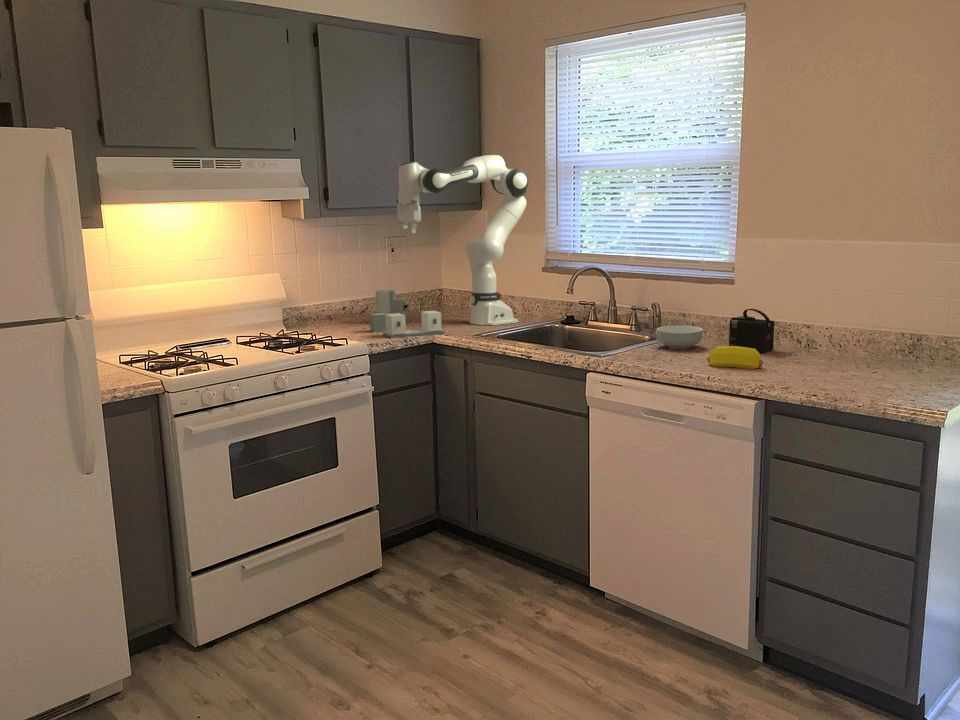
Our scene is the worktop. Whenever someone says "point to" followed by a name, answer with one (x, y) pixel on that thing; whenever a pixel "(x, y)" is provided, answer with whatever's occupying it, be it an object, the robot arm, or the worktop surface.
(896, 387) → the worktop surface
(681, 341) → the cereal bowl
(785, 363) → the worktop surface
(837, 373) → the worktop surface
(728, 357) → the yellow rounded bar
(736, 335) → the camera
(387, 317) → the rail base
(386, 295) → the circuit breaker
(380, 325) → the block
